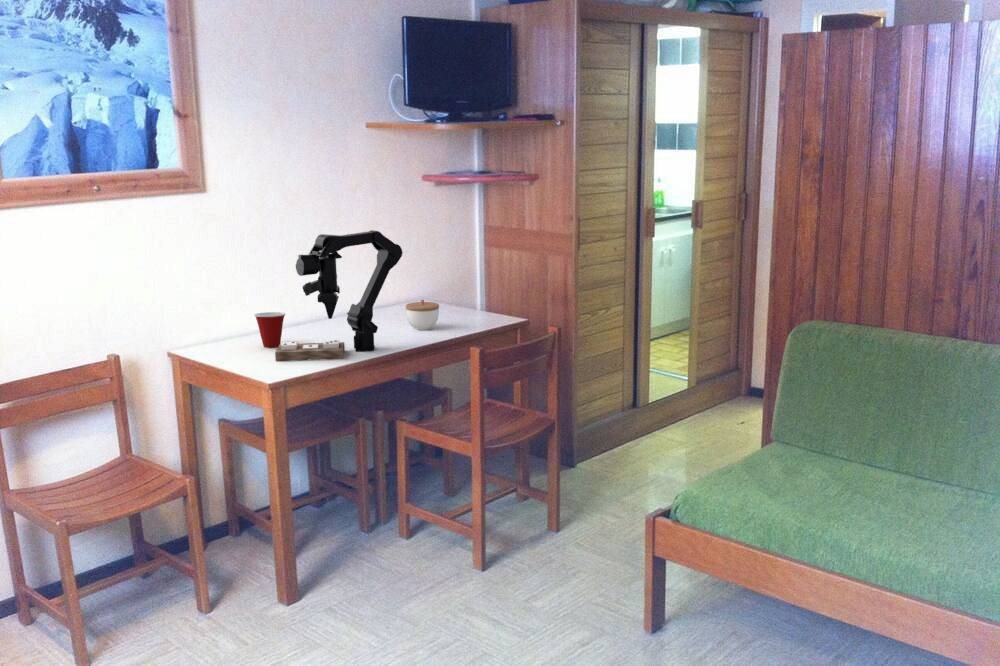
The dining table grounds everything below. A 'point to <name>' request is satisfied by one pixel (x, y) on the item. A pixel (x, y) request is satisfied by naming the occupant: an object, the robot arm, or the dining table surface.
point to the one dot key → (311, 346)
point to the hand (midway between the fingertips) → (330, 318)
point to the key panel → (310, 353)
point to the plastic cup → (270, 328)
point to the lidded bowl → (422, 314)
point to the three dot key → (331, 344)
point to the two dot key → (289, 346)
